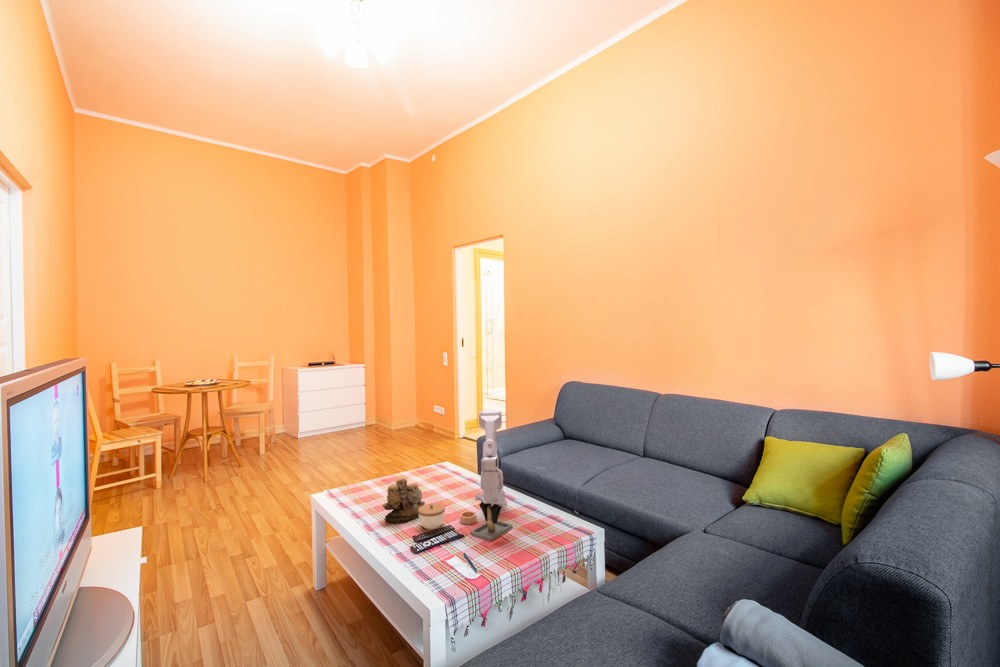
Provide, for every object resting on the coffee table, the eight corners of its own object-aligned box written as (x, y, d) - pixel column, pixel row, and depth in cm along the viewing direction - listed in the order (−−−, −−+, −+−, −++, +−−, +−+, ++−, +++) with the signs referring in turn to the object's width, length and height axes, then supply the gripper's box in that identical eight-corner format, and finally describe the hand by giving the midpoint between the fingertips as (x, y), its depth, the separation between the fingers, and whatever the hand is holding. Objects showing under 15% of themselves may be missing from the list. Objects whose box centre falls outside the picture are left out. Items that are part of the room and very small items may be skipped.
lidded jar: (420, 534, 183) (419, 511, 183) (417, 523, 193) (416, 501, 193) (447, 530, 186) (446, 507, 185) (443, 520, 196) (442, 498, 196)
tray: (492, 523, 192) (492, 518, 192) (512, 529, 186) (512, 524, 186) (470, 535, 181) (470, 531, 181) (490, 542, 175) (490, 538, 175)
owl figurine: (386, 527, 190) (385, 486, 190) (379, 517, 201) (378, 478, 200) (428, 517, 199) (427, 477, 199) (419, 508, 209) (418, 470, 209)
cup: (467, 517, 198) (467, 509, 198) (479, 521, 194) (479, 513, 194) (456, 522, 193) (456, 515, 193) (468, 526, 189) (468, 519, 189)
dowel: (490, 527, 185) (490, 505, 185) (496, 529, 184) (496, 506, 183) (486, 530, 183) (485, 507, 183) (492, 532, 181) (491, 509, 181)
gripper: (469, 486, 184) (470, 520, 184) (498, 494, 175) (499, 530, 176) (481, 481, 190) (482, 514, 190) (510, 488, 181) (510, 523, 181)
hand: (491, 521), depth 183 cm, fingers closed on dowel, 3 cm apart
